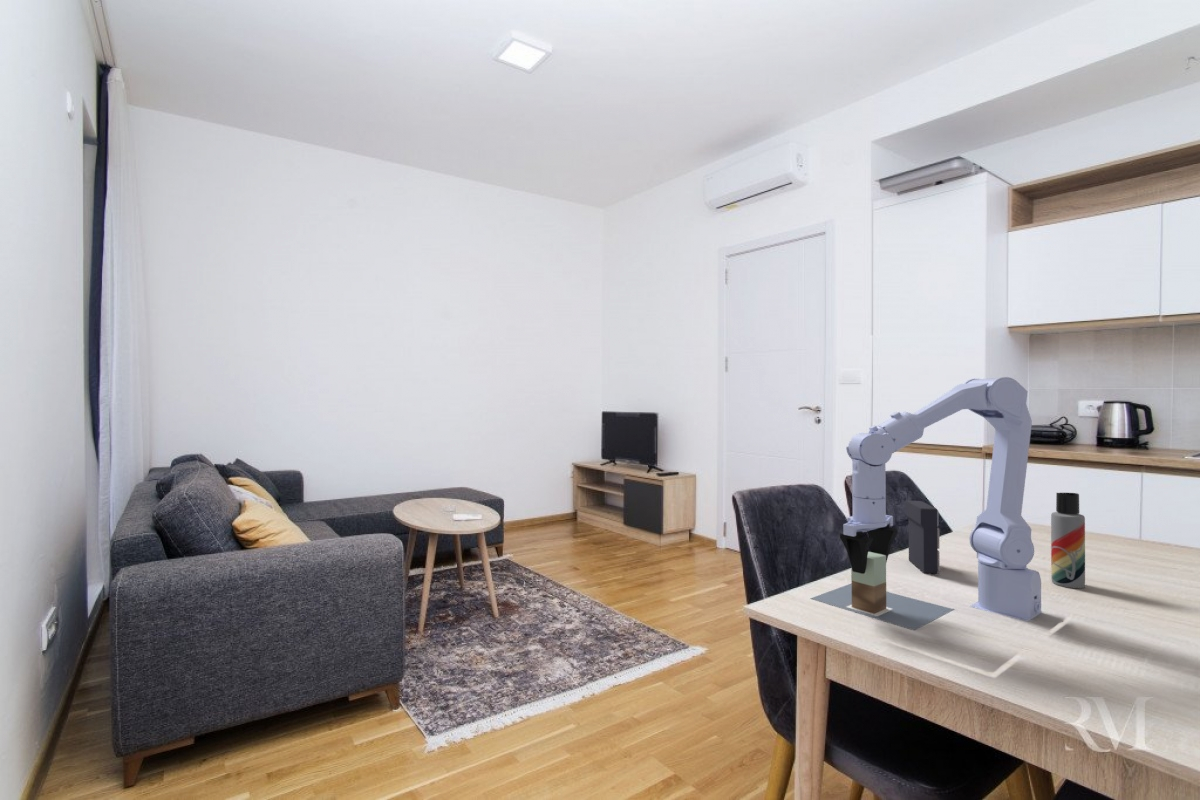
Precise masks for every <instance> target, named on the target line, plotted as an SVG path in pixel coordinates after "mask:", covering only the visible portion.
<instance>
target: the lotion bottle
mask: <svg viewBox="0 0 1200 800" xmlns="http://www.w3.org/2000/svg"><path fill="white" fill-rule="evenodd" d="M1055 493H1056V496H1055V497H1056V498H1055V499H1056V503H1055V504H1056V505H1055V510H1056V511H1054V512H1051V513H1050V515H1051V516H1050V559H1051V563H1050V566H1051V567H1050V569H1051V570H1050V576H1051V579H1050V580H1051V582H1052V584H1054V585H1056V586H1059V587H1064V588H1070V589H1083V588H1085V586H1086V518H1085V516H1084V515H1083V514H1081V513H1080V494H1079V493H1078V492H1055Z"/></svg>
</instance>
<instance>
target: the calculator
mask: <svg viewBox="0 0 1200 800" xmlns="http://www.w3.org/2000/svg"><path fill="white" fill-rule="evenodd" d="M905 516H906V518H907V519H908V561H909V562H910V563H911V564H912V565H913V566H915V568H917V569H918V570H919V569H920V570H919V571H921V572H922V573H923V574H929V573H931V575H932V574H933V575H937V574H938V573H939V572H940V569H941V568H940V567H941V566H940V550H939V549H940V528H939V510H938V509H937V507H934V506H933V505H930V504H929V503H926V502H925V501H922V500H906V501H905Z"/></svg>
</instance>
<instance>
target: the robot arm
mask: <svg viewBox="0 0 1200 800" xmlns="http://www.w3.org/2000/svg"><path fill="white" fill-rule="evenodd" d="M1027 400H1028V390H1027V389H1026V388H1025V387H1024V386H1023V385H1021V384H1020V382H1018V381H1017V380H1016V379H1015V378H1013V377H1008V376H1003V377H997V378H996V377H995V378H971V379H968V380H966V381H965V382H964V383H960V384H957V385H955V386H953V388H951V389H950V390H949V391H947V392H946V393H944V394H942V395H941V396H939V397H937V398H936V399H935V400H933V401H931V402H930V403H927V405H926V404H925V406H923V407H921V408H919V409H918V410H916V411H915V412H913V413H911V412H907V411H901V412H900V411H899V412H897V411H896V412H895V411H894V412H893V413H891V414H890V415H889V416H890V417H891V418H888V419H887V420H885V421H883V422H882V423H880V424H879V425H872V426H870V427H868V430H869V431H868V432H861V433H860V432H859V433H856V434H855V435H853V436H852V437H851V439H850V440H849V443H848V446H846V454H847V455H848V457H849V458H850V459H851V462H852V463H851V464H852V465H851V466H852V472H851V473H852V476H851V477H852V479H851V480H852V483H851V484H852V487H851V488H852V490H851V493H852V515H851V516H847V517H846V521H847V522H846V523H843V525H842V527H843V529H842V530H843V531H840V532H839V539H840V540H841V543H843V545H844V547H845V550H846V552H847V556H848V560H849V564H850V568H851V567H852V571H853V572H857V573H861V574H864V573H865V571H866V565H867V555H868V552H873V553H877V554H882V555H886V563H887V562H888V558H889V554H890V550H891V547H892V544H893V542H894V540H895V538H896V537H897V535H898V534H899V529H898V528H895V527H893V526H894V516H893V515H888V514H887V513H886V512H887V511H886V509H887V507H886V505H887V504H886V503H887V499H886V497H887V495H886V490H887V489H886V486H887V483H886V480H887V479H886V476H887V475H886V464H887V463H888V462H889V461H890V460H891V459H892V455H893V454H894V453H896V452H898V451H900V450H901V449H904V448H905V447H906V446H907V447H908V446H909V445H910V444H912V443H914V442H916V441H918V440H920V439H921V438H922V437H923V435H924V430H925V429H926V428H927V427H929V426H932V425H933V424H935V423H938V422H939V421H942V420H943V419H945V418H948V417H950V416H952V415H954V414H956V413H958V412H960V411H962V410H969V411H970V412H972V413H975V414H976V415H979V416H980V417H982V418H984V419H985V420H986V421H987V422H988V423H989V424H990V425H991V426H992V427H993V429H994V430H995V431H994V438H993V448H992V454H991V455H992V456H991V457H992V458H991V465H990V476H989V482H988V483H989V484H988V489H987V490H988V491H987V498H986V499H987V500H986V501H987V502H986V509H985V510H984V511H982V512H981V513H979V515H978V516H977V517H976V521H975V524H974V527H973V528H972V530H971V532H970V534H969V544H970V547H971V549H972V550H973V551H974V552H975V553H976V558H977V563H978V564H977V572H978V573H977V578H978V579H977V580H978V581H977V582H978V583H977V591H978V593H977V594H978V596H977V597H978V598H977V601H976V602H974V603H972V604H970V605H969V607H970V608H975V609H978V610H981V611H985V612H989V613H994V614H998V615H1001V616H1004V617H1005V616H1006V617H1009V618H1012V619H1013V618H1014V619H1017V620H1020V621H1025V622H1030V621H1031V620H1033V619H1034V618H1036V617H1038V615H1040V614H1041V613H1042V614H1043V611H1042V578H1041V574H1040V572H1039V571H1038V570H1035V569H1031V568H1028V567H1027V565H1029V564H1030V563H1031V561H1032V560H1033V558H1034V556H1035V546H1034V542H1033V540H1032V527H1030V525H1029V524H1028V522H1026V520H1025V518H1024V517H1023V515H1022V512H1023V505H1024V504H1023V502H1024V495H1025V494H1024V493H1025V488H1026V487H1025V484H1026V477H1027V470H1028V469H1027V467H1028V459H1029V451H1030V442H1031V433H1032V417H1031V414H1030V411H1029V408H1028V406H1027V402H1028V401H1027ZM863 533H866V534H867V536H865V534H863Z"/></svg>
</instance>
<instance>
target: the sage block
mask: <svg viewBox="0 0 1200 800" xmlns="http://www.w3.org/2000/svg"><path fill="white" fill-rule="evenodd" d="M850 569H851V570H850V573H851V579H850V580H851V582H852V581H855V582H859V583H863V584H866V585H870V586H877V585H879V584H882V583H885V582H886V583H887V562H886V555H882V554H877V553H873V552H871V551H868V555H867V565H866V571H865V573H864V574H861V573H857V572H853V571H852V567H851V566H850Z"/></svg>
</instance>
